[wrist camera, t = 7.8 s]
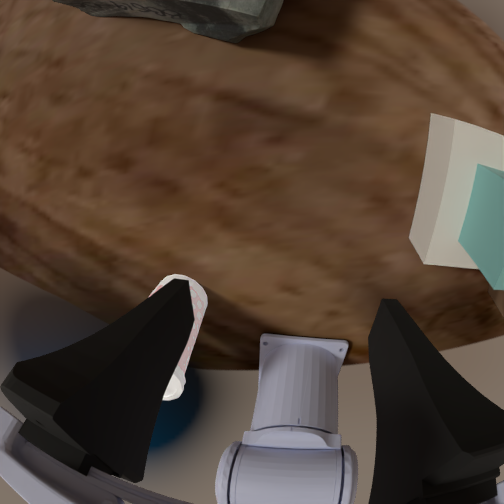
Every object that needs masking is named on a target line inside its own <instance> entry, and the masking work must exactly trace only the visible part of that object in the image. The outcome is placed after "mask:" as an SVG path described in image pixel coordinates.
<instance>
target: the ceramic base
mask: <svg viewBox="0 0 504 504" xmlns="http://www.w3.org/2000/svg"><path fill="white" fill-rule="evenodd" d="M477 163H478V164H481V165H485V166H488V167H491V168H495V169H498V170H501V171H504V136H503V135H500V134H498V133H495V132H492V131H489V130H487V129H484V128H481V127H478V126H475V125H472V124H469V123H466V122H463V121H459V120H456V119H452V118H449V117H445V116H441V115H437V114H433V113H431V118H430V128H429V136H428V144H427V151H426V157H425V164H424V170H423V175H422V181H421V186H420V191H419V196H418V201H417V206H416V210H415V215H414V219H413V223H412V227H411V231H410V235H409V239H410V241H411V242H412V244H413V246H414V247H415V249H416V251H417V253H418V254H419V256H420V258H421V260H422V262H423V264H430V265H440V266H451V267H461V268H472V269H479V268H478V267H477V265H476V264H475V262H474V261H473V260H472V258H471V257H470V256H469V254H468V253H467V252H466V250H465V249H464V248H463V247H462V245H461V244H460V243H459V242H458V239H459V236H460V232H461V229H462V226H463V222H464V219H465V215H466V212H467V208H468V204H469V200H470V196H471V192H472V188H473V183H474V178H475V174H476V169H477Z"/></svg>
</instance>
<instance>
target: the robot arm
mask: <svg viewBox="0 0 504 504" xmlns="http://www.w3.org/2000/svg"><path fill="white" fill-rule="evenodd" d="M194 321H195V318H194V312H193V305H192V299H191V292H190V286H189V280H184V279H176V278H174V279H172V280H171V281H169V282H168V283H167V284H165V285H164V286H163V287H161V288H160V289H159V290H158V291H156V292H155V293H154V294H152V295H151V296H150V297H148V298H147V299H146V300H144V301H143V302H142V303H140V304H139V305H138V306H137V307H135V308H134V309H132V310H131V311H129V312H128V313H126V314H125V315H124V316H122V317H121V318H119V319H118V320H116V321H115V322H113V323H112V324H110V325H108V326H107V327H105V328H103V329H102V330H100V331H98V332H96V333H95V334H93V335H91V336H89V337H87V338H85V339H83V340H81V341H78V342H76V343H74V344H72V345H70V346H68V347H65V348H63V349H60V350H58V351H55V352H52V353H49V354H46V355H43V356H40V357H36V358H33V359H29V360H25V361H21V362H17V363H16V364H15V366H14V367H13V369H12V370H11V372H10V373H9V374H8V376H7V377H6V379H5V380H4V381H3V383H2V384H1V386H0V387H1V390H2V392H3V393H4V395H5V396H6V397H7V398H8V400H9V401H10V402H11V403H12V404H13V405H14V406H15V407H16V408H17V409H18V410H19V411H20V412H21V413H22V414H23V415H24V417H25V418H27V419H26V420H25V422H24V424H23V423H22V422H21V421H20V420H19V419H17V418H16V417H15V416H13V415H12V414H11V413H9V412H8V411H7V410H5V409H4V408H3V407H0V476H1V477H2V478H3V479H4V480H5V481H6V482H7V483H8V484H9V485H10V486H11V487H12V488H13V489H14V490H15V491H16V492H17V493H18V494H19V495H20V496H21V497H22V498H23V499H24V500H25V501H27V502H28V503H29V504H124V501H123V500H125V501H128V502H130V503H132V504H192V503H188V502H185V501H181V500H177V499H174V498H170V497H167V496H164V495H161V494H158V493H155V492H152V491H149V490H146V489H144V488H141V487H138V486H136V485H133V484H130V483H128V482H125V481H123V480H120V479H118V478H116V477H119V478H123V479H126V480H128V481H131V482H133V483H137V482H140V481H142V480H143V477H144V470H145V465H146V459H147V454H148V449H149V446H150V441H151V437H152V433H153V429H154V426H155V422H156V418H157V415H158V412H159V409H160V405H161V402H162V399H163V396H164V394H165V391H166V389H167V386H168V384H169V382H170V380H171V377H172V375H173V373H174V371H175V369H176V367H177V365H178V362H179V360H180V358H181V356H182V354H183V352H184V349H185V347H186V345H187V343H188V340H189V337H190V334H191V331H192V327H193V324H194ZM368 344H369V363H370V369H371V376H372V383H373V390H374V398H375V405H376V415H377V437H376V440H377V441H376V457H375V466H374V475H373V482H372V489H371V494H370V499H369V504H504V480H503V481H501V482H499V483H497V484H496V477H498V476H499V475H500V469H499V467H500V466H501V465H503V464H504V410H503V409H501V408H500V407H498V406H497V405H496V404H494V403H493V402H491V401H490V400H489V399H487V398H486V397H484V396H483V395H482V394H481V393H480V392H479V391H477V390H476V389H475V388H474V387H473V386H472V385H471V384H469V383H468V382H467V381H466V380H465V379H464V378H463V377H462V376H461V375H460V374H459V373H458V372H457V371H456V370H455V369H454V368H453V367H452V366H451V365H450V364H449V363H448V362H447V361H446V360H445V359H444V358H443V356H442V355H441V354H440V353H439V352H438V350H437V349H436V348H435V347H434V346H433V345H432V343H431V342H430V341H429V340H428V338H427V337H426V336H425V335H424V333H423V332H422V331H421V330H420V328H419V327H418V326H417V324H416V323H415V322H414V321H413V319H412V318H411V317H410V315H409V314H408V313H407V311H406V310H405V309H404V308H403V306H402V305H401V304H400V303H399V302H398V300H396V299H382V300H381V303H380V306H379V309H378V312H377V315H376V318H375V320H374V323H373V326H372V329H371V331H370V334H369V337H368ZM342 348H343V349H342ZM347 349H348V342H347V341H345V340H333V339H319V338H307V337H296V336H285V335H276V334H262V335H261V338H260V361H259V387H258V394H257V400H256V405H255V410H254V415H253V420H252V424H251V429H250V431H245V432H244V436H243V441H242V442H241V441H235V442H233V443H232V444H231V445H230V446H229V447H227V448H226V449H225V451H224V453H223V455H222V457H221V460H220V463H219V466H218V470H217V475H216V483H215V494H216V499H217V503H218V504H354V500H355V496H356V490H357V481H358V462H357V456H356V453H355V452H354V451H353V450H352V449H351V447H350V446H349V445H342V446H341V434H338V379H337V378H338V374H339V372H340V369H341V366H342V363H343V361H344V358H345V355H346V352H347ZM111 475H114V476H116V477H113V476H111ZM122 499H123V500H122Z"/></svg>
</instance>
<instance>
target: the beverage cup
mask: <svg viewBox="0 0 504 504" xmlns="http://www.w3.org/2000/svg"><path fill="white" fill-rule="evenodd" d="M174 278H176V279H184V280H189V286H190V292H191V299H192V305H193V312H194V318H195V321H194V324H193V327H192V331H191V334H190V337H189V340H188V343H187V345H186V347H185V349H184V352H183V354H182V356H181V358H180V360H179V362H178V365H177V367H176V369H175V371H174V373H173V375H172V377H171V380H170V382H169V384H168V386H167V389H166V391H165V394H164V396H163V399H162V400H172V399H176V398H178V397H179V396H180V395H181V393H182V391H183V389H184V384H185V382H186V381H185V376H184V374H185V371H186V368H187V365H188V362H189V359H190V356H191V353H192V350H193V346H194V343H195V340H196V337H197V334H198V331H199V328H200V325H201V322H202V319H203V316H204V313H205V310H206V307H207V304H208V302H207V295H206V293H205V291H204V289H203V288H202V287H201V286H200V285H199V284H198V283H197V282H196V281H195V280H193V279H191V278H189V277H187V276H184V275H177V274H174V275H170V276H167V277H165V278H164V279H163V280H162V281H161V282H160V283H159V285H158V286H157V287H156V288H155V290H154V291H153V292H152V293H151V295H152V294H154V293H155V292H156V291H158V290H159V289H160V288H161V287H163V286H164V285H165V284H167V283H168V282H169V281H171V280H172V279H174ZM151 295H150V296H151ZM150 296H149V297H150Z"/></svg>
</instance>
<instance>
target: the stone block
mask: <svg viewBox="0 0 504 504" xmlns="http://www.w3.org/2000/svg"><path fill="white" fill-rule="evenodd" d="M52 1H54V2H58V3H62V4H66V5H69V6H73V7H76V8H78V9H80V10H81V11H84V12H85V13H87V14H89V15H92V16H99V17H108V16H126V17H149V18H154V19H158V20H164V21H171V22H175V23H180V24H182V26H183V27H184V28H186V29H188V30H189V31H191V32H193V33H195V34H200V35H205V36H208V37H211V38H216V39H220V40H224V41H228V42H232V43H238V42H240V41H241V40H242V39H243V38H245V37H246V36H249V35H254V34H256V33H259V32H261V31H264V30H266V29H268V28H270V27H272V26H273V25H274V24H275V21H276V18H277V16H278V13H279V11H280V9H281V6H282V4H283V1H284V0H52Z"/></svg>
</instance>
